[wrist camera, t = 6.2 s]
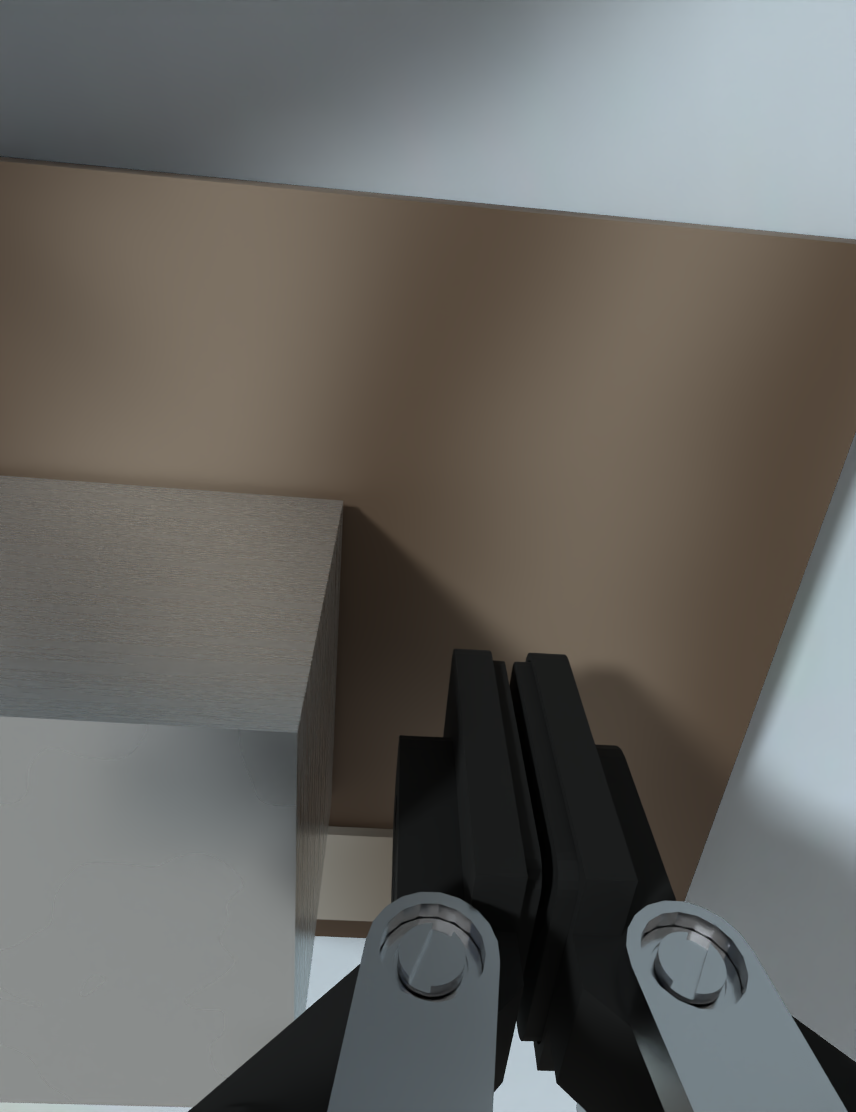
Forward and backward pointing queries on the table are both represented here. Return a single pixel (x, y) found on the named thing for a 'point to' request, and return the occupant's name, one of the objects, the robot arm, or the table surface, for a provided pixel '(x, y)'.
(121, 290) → the bench
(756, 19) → the table surface
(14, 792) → the gauge plunger
